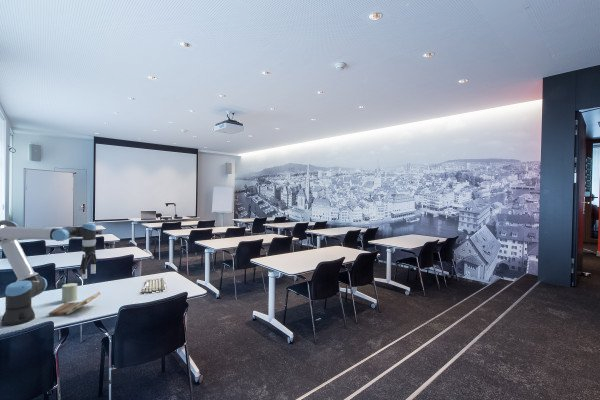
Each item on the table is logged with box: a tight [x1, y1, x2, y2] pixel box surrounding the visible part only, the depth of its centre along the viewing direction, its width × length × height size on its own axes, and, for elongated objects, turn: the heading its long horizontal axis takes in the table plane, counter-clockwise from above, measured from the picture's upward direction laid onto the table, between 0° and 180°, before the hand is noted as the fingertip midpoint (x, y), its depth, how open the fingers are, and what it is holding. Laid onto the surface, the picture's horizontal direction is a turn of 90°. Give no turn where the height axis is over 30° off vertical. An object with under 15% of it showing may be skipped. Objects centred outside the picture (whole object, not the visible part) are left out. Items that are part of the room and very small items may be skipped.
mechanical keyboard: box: [141, 277, 165, 295], centre depth 254 cm, size 38×19×3 cm, turn 27°
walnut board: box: [48, 301, 81, 317], centre depth 198 cm, size 9×18×2 cm, turn 11°
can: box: [61, 282, 78, 303], centre depth 217 cm, size 9×9×12 cm
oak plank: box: [66, 291, 102, 315], centre depth 200 cm, size 14×18×2 cm
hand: (88, 276), depth 202 cm, fingers open, 13 cm apart
